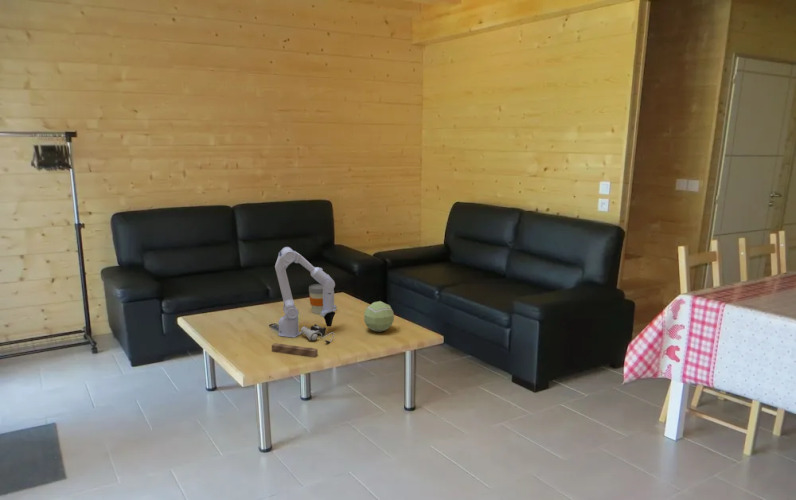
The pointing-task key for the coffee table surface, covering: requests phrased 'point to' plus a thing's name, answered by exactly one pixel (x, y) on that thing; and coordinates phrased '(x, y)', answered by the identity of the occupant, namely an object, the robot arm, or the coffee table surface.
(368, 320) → the decorative sphere
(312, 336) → the clip-on lamp
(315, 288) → the reusable coffee cup
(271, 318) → the coffee table surface
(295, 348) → the bar
